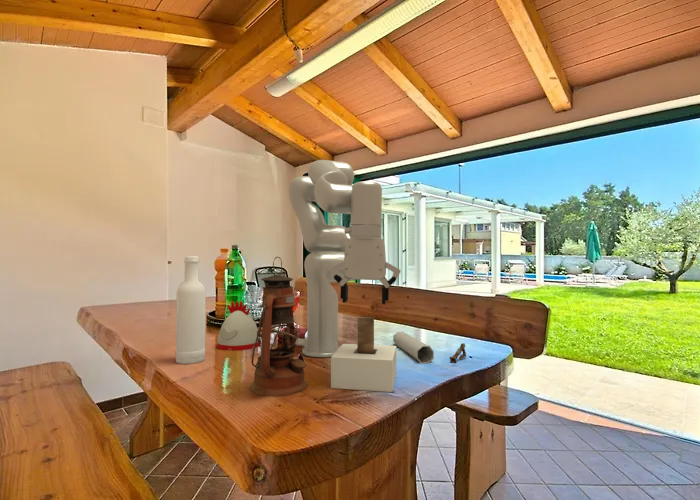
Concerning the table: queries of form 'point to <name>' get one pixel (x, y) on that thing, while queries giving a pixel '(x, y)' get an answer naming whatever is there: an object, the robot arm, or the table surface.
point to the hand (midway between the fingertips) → (364, 302)
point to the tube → (414, 347)
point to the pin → (365, 335)
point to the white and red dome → (238, 330)
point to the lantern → (278, 364)
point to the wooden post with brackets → (458, 352)
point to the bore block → (364, 368)
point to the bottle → (190, 316)
